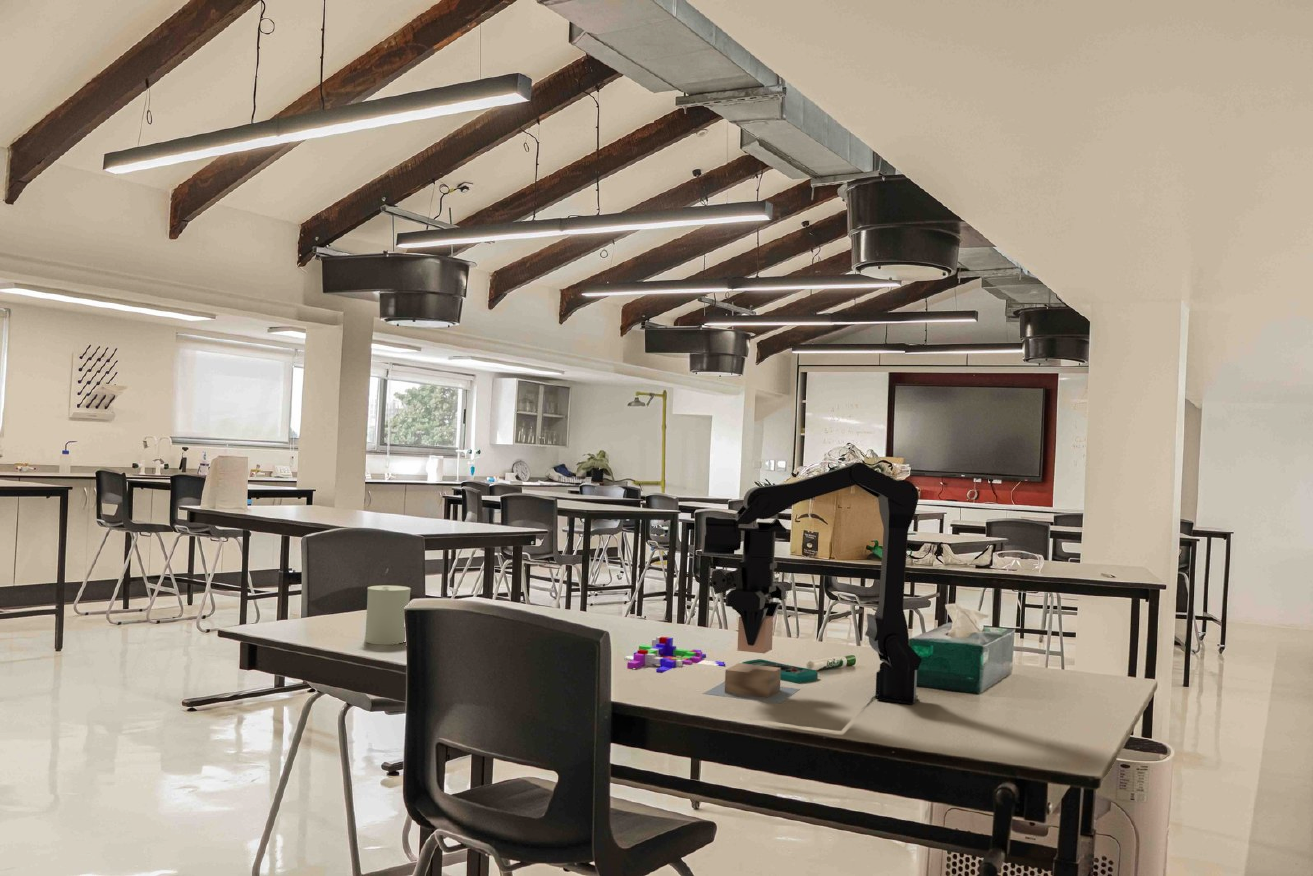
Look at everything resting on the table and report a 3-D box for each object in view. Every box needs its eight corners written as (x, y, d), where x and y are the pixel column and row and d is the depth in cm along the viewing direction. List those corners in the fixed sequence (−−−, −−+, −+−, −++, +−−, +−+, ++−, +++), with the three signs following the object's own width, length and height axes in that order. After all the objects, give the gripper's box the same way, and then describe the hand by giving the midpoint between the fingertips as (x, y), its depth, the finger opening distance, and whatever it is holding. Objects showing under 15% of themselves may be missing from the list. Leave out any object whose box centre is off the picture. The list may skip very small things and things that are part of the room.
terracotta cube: (772, 649, 187) (773, 616, 187) (764, 653, 183) (765, 619, 183) (745, 646, 189) (746, 613, 189) (737, 650, 184) (738, 616, 185)
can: (358, 643, 219) (361, 586, 219) (371, 636, 228) (374, 582, 228) (401, 646, 218) (404, 589, 219) (413, 639, 228) (416, 584, 228)
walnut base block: (779, 690, 188) (780, 667, 188) (768, 698, 180) (769, 675, 181) (737, 684, 191) (738, 663, 191) (724, 692, 183) (725, 669, 184)
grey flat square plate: (799, 692, 189) (800, 689, 189) (780, 707, 176) (780, 703, 176) (727, 683, 195) (727, 680, 195) (702, 697, 182) (703, 693, 182)
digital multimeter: (799, 689, 195) (799, 673, 195) (736, 676, 205) (737, 661, 205) (820, 684, 200) (821, 669, 200) (758, 672, 210) (759, 657, 210)
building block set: (701, 680, 199) (702, 657, 199) (605, 668, 207) (606, 645, 207) (741, 661, 222) (742, 640, 222) (653, 651, 230) (654, 630, 230)
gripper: (731, 550, 198) (728, 632, 198) (699, 556, 181) (695, 646, 180) (788, 554, 194) (785, 638, 193) (760, 560, 177) (757, 652, 176)
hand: (755, 643), depth 186 cm, fingers closed on terracotta cube, 5 cm apart
